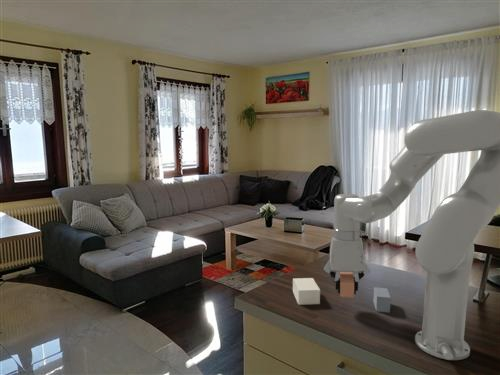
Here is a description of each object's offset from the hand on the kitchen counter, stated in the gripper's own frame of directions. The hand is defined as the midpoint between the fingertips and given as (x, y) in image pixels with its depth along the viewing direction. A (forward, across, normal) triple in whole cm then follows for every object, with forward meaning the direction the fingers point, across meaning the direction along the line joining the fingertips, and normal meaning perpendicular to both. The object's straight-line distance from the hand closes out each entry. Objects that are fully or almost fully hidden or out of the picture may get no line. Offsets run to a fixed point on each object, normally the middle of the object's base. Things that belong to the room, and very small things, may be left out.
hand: (346, 291), depth 113 cm
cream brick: (+6, +13, -7) cm, 16 cm away
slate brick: (+6, -11, -5) cm, 14 cm away
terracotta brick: (0, 0, -1) cm, 1 cm away
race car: (+6, +1, -24) cm, 24 cm away
